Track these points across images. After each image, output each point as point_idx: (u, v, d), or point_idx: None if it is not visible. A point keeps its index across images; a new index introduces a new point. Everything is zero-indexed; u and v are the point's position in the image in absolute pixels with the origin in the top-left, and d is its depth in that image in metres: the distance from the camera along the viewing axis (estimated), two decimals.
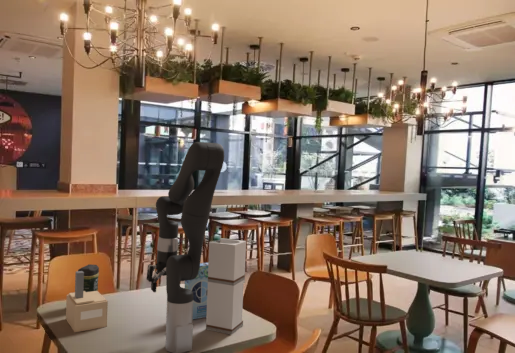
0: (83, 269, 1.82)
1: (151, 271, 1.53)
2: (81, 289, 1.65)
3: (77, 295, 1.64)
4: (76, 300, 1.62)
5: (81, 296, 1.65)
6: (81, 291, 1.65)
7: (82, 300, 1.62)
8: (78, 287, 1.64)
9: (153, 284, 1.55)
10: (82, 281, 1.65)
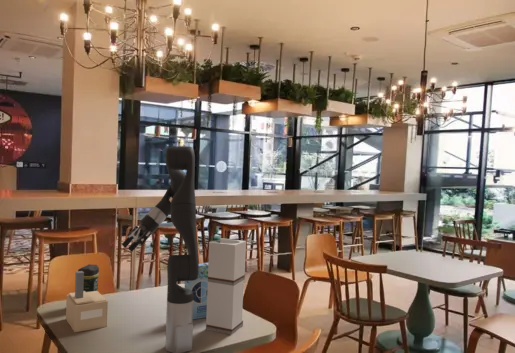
0: (83, 269, 1.82)
1: (133, 229, 1.84)
2: (81, 289, 1.65)
3: (77, 295, 1.64)
4: (76, 300, 1.62)
5: (81, 296, 1.65)
6: (81, 291, 1.65)
7: (82, 300, 1.62)
8: (78, 287, 1.64)
9: (126, 239, 1.81)
10: (82, 281, 1.65)
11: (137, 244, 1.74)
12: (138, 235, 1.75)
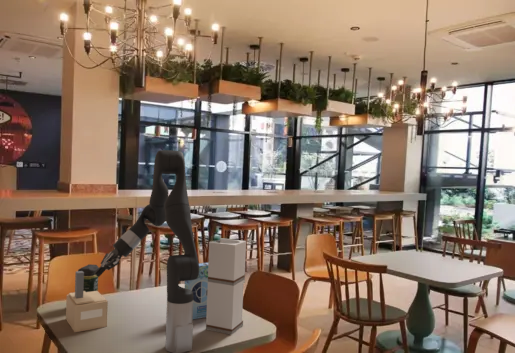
0: (83, 269, 1.82)
1: (105, 256, 1.76)
2: (81, 289, 1.65)
3: (77, 295, 1.64)
4: (76, 300, 1.62)
5: (81, 296, 1.65)
6: (81, 291, 1.65)
7: (82, 300, 1.62)
8: (78, 287, 1.64)
9: None
10: (82, 281, 1.65)
11: (104, 269, 1.70)
12: (106, 261, 1.70)
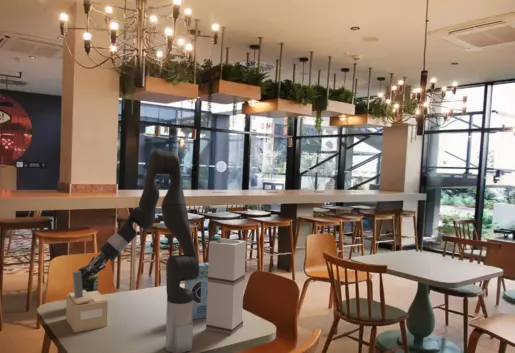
0: (83, 269, 1.82)
1: (91, 260, 1.73)
2: (80, 288, 1.65)
3: (76, 295, 1.64)
4: (76, 300, 1.62)
5: (81, 295, 1.65)
6: (80, 290, 1.65)
7: (82, 299, 1.62)
8: (77, 287, 1.64)
9: None
10: (80, 281, 1.65)
11: (90, 273, 1.67)
12: (93, 265, 1.67)
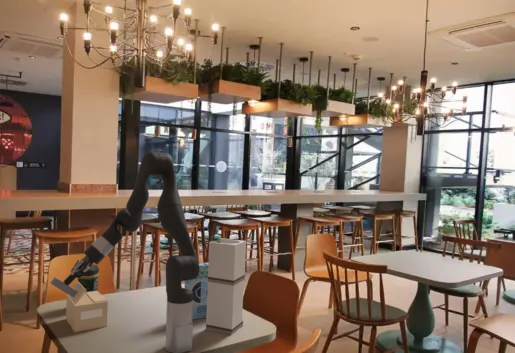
0: None
1: (75, 264, 1.69)
2: (69, 289, 1.63)
3: (71, 295, 1.63)
4: (73, 300, 1.61)
5: (75, 292, 1.64)
6: (71, 290, 1.63)
7: (77, 296, 1.61)
8: (65, 290, 1.62)
9: None
10: (63, 284, 1.61)
11: (74, 277, 1.64)
12: (76, 269, 1.64)
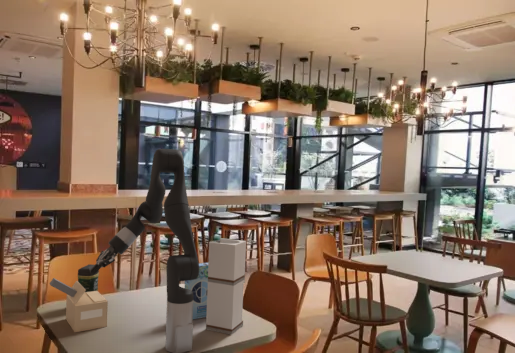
0: (83, 269, 1.82)
1: (100, 254, 1.75)
2: (68, 289, 1.62)
3: (71, 295, 1.63)
4: (73, 300, 1.61)
5: (75, 292, 1.64)
6: (70, 290, 1.63)
7: (77, 296, 1.61)
8: (64, 290, 1.62)
9: None
10: (62, 285, 1.61)
11: (99, 267, 1.69)
12: (102, 258, 1.69)
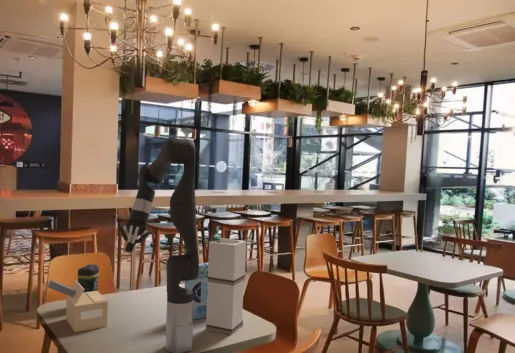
0: (83, 269, 1.82)
1: (122, 231, 1.70)
2: (67, 290, 1.62)
3: (70, 295, 1.63)
4: (73, 300, 1.61)
5: (74, 292, 1.64)
6: (69, 290, 1.63)
7: (76, 296, 1.61)
8: (63, 291, 1.61)
9: (127, 244, 1.69)
10: (60, 286, 1.61)
11: (134, 244, 1.70)
12: (136, 236, 1.69)
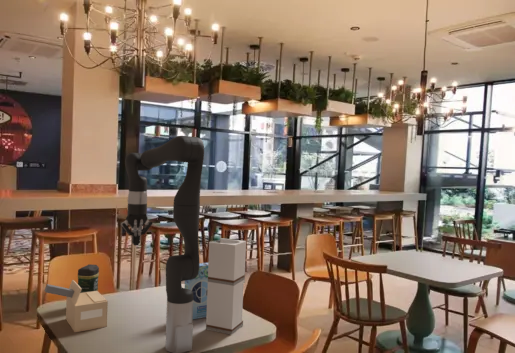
0: (83, 269, 1.82)
1: (126, 227, 1.65)
2: (65, 291, 1.62)
3: (69, 296, 1.63)
4: (72, 300, 1.61)
5: (72, 292, 1.63)
6: (67, 291, 1.62)
7: (75, 296, 1.61)
8: (61, 293, 1.61)
9: (134, 237, 1.67)
10: (57, 289, 1.60)
11: None
12: (141, 229, 1.68)
